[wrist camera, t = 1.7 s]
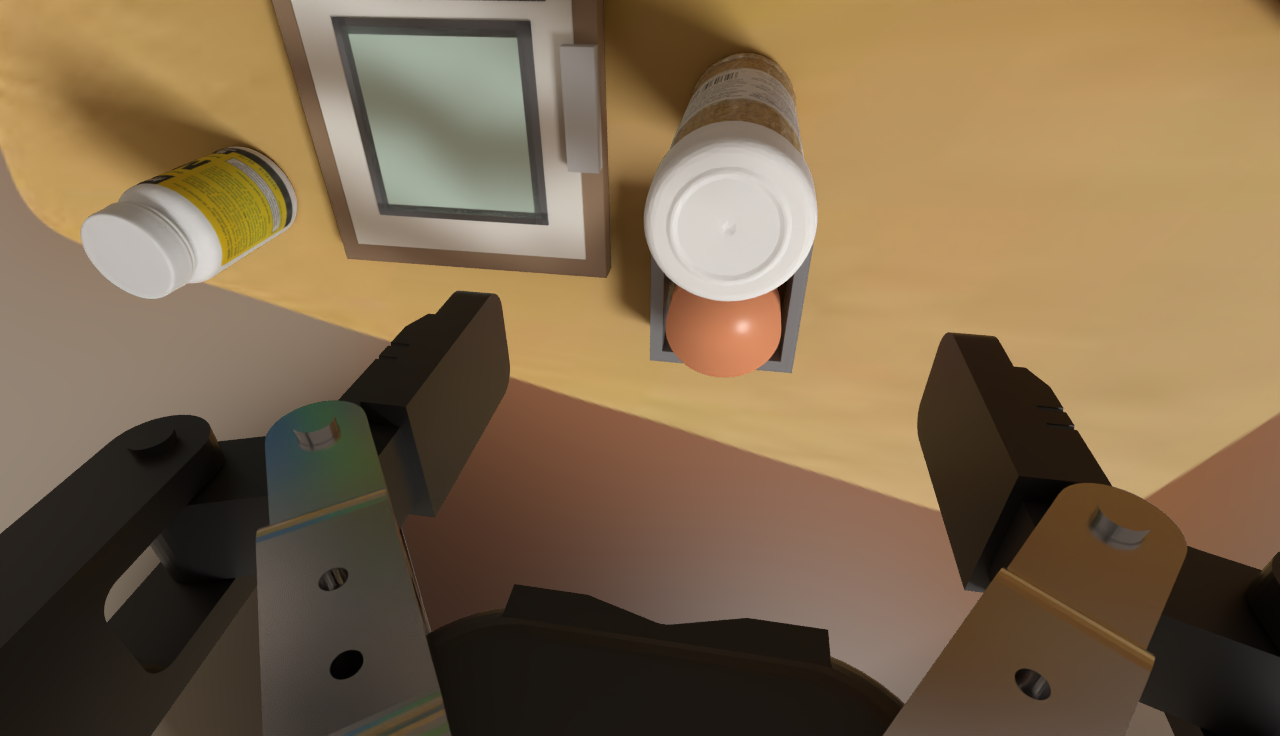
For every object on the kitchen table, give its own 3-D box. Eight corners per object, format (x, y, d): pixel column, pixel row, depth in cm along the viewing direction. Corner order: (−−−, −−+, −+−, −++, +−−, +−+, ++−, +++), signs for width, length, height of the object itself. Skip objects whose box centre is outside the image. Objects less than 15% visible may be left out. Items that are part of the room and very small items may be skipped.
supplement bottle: (239, 124, 31) (94, 180, 25) (316, 199, 33) (200, 270, 26) (198, 181, 34) (54, 246, 27) (272, 248, 35) (155, 325, 29)
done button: (677, 237, 29) (666, 274, 26) (786, 245, 29) (788, 283, 26) (674, 329, 32) (664, 372, 29) (773, 337, 32) (773, 382, 29)
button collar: (660, 204, 30) (651, 229, 28) (810, 212, 29) (814, 239, 27) (658, 329, 34) (650, 360, 32) (789, 340, 33) (791, 372, 31)
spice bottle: (708, 174, 29) (674, 324, 18) (675, 73, 27) (613, 174, 16) (809, 141, 27) (836, 283, 17) (782, 30, 25) (794, 111, 14)
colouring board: (255, -123, 25) (221, -126, 24) (598, -127, 23) (586, -131, 22) (359, 249, 34) (339, 265, 33) (611, 267, 33) (603, 285, 31)
